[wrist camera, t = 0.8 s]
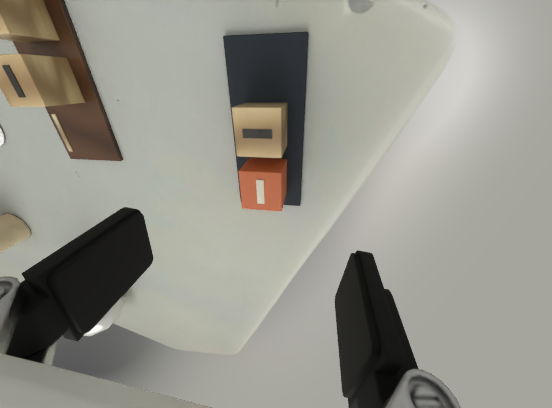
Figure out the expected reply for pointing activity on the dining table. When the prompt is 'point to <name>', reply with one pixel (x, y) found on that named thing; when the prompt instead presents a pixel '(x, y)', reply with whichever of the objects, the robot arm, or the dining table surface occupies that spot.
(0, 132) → the candle
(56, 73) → the far letter i
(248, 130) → the tan block
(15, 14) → the tan wooden block
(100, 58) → the dining table surface
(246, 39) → the near mat
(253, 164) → the orange striped cube
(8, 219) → the candle
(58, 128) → the far board
